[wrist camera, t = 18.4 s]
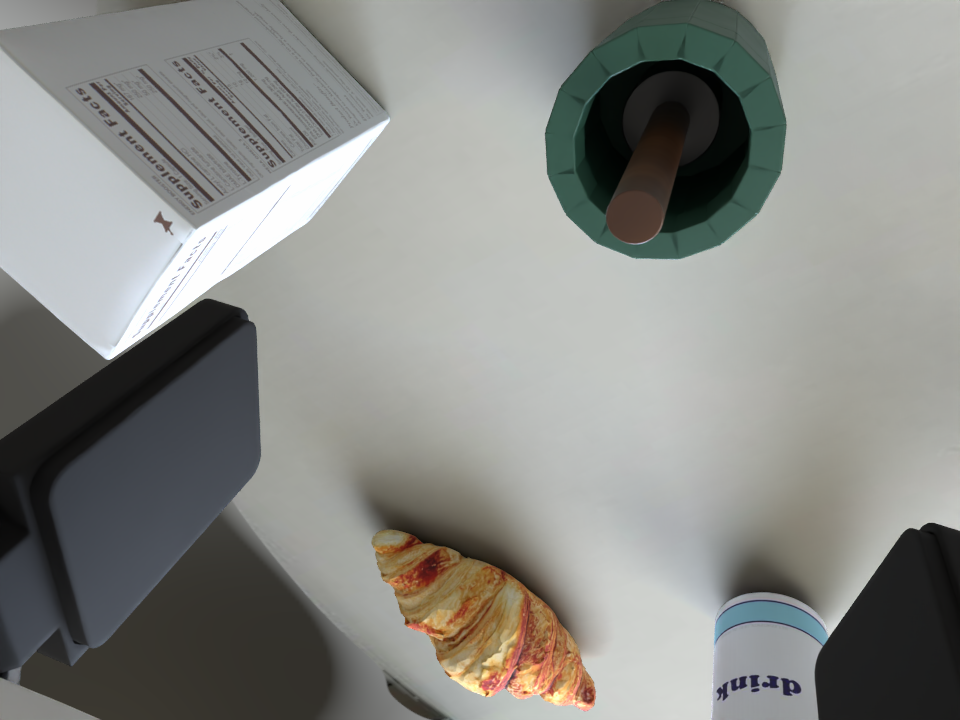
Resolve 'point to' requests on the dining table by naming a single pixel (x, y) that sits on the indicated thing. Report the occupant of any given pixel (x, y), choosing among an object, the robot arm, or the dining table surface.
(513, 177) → the dining table surface
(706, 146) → the dowel with disc base
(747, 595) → the beverage can
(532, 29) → the dining table surface
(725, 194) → the jar
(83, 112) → the supplement box
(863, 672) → the robot arm
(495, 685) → the croissant
